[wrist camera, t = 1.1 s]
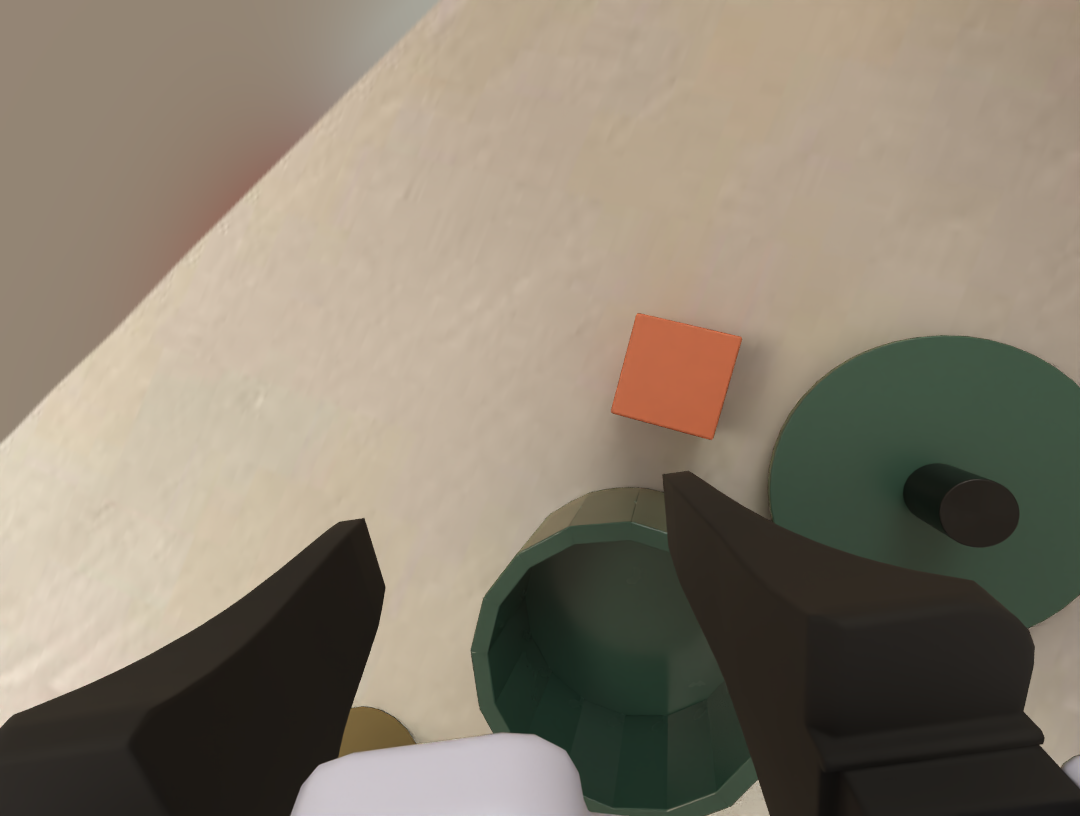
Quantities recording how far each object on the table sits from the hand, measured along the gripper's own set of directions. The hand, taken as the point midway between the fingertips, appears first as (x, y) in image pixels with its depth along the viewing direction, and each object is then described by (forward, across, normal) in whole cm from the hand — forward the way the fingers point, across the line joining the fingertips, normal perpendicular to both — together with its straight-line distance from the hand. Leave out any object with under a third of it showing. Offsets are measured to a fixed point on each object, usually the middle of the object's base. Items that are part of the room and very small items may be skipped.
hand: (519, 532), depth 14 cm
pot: (+10, -4, +11) cm, 15 cm away
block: (+12, -7, +1) cm, 14 cm away
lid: (+8, -16, +6) cm, 19 cm away
